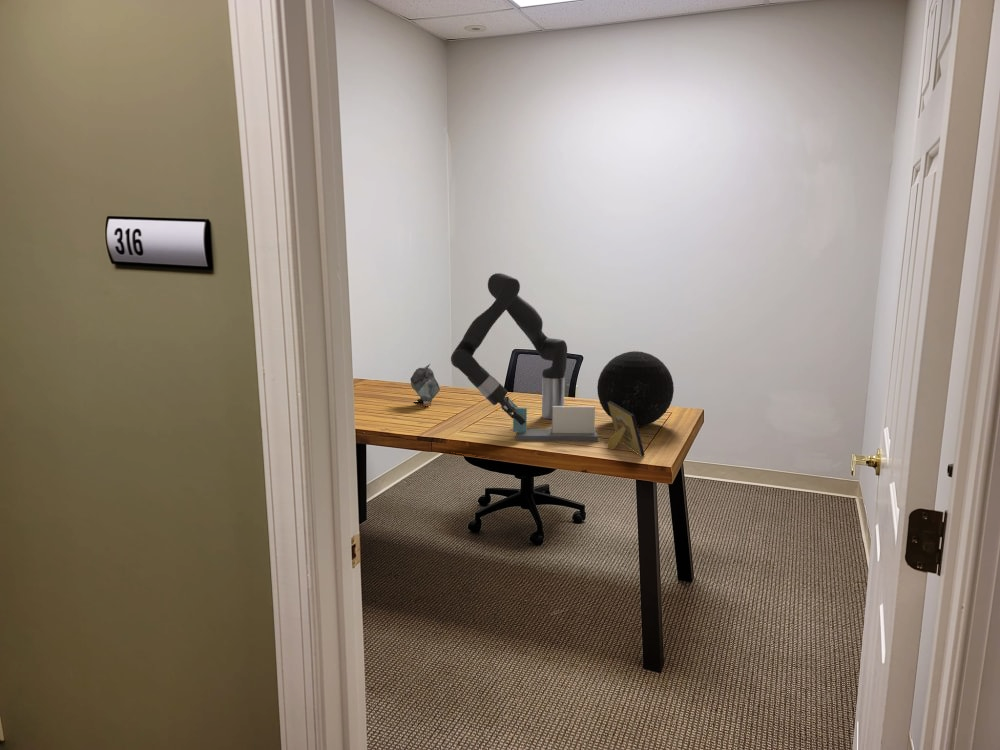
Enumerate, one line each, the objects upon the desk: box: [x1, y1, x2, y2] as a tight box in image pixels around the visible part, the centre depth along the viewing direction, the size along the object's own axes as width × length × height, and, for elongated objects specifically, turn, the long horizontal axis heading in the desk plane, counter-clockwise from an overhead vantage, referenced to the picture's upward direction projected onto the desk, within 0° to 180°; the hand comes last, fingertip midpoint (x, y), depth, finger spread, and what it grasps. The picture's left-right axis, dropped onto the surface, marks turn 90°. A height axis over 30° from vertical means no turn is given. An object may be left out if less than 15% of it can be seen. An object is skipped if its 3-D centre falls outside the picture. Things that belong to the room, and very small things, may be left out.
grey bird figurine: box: [410, 363, 441, 406], centre depth 317 cm, size 14×15×18 cm
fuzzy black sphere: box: [596, 350, 675, 427], centre depth 280 cm, size 30×30×30 cm
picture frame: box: [606, 401, 646, 457], centre depth 249 cm, size 23×9×15 cm, turn 12°
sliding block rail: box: [516, 405, 599, 443], centre depth 263 cm, size 10×30×12 cm, turn 88°
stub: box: [512, 407, 528, 433], centre depth 263 cm, size 1×5×9 cm, turn 88°
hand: (523, 421), depth 263 cm, fingers open, 6 cm apart
